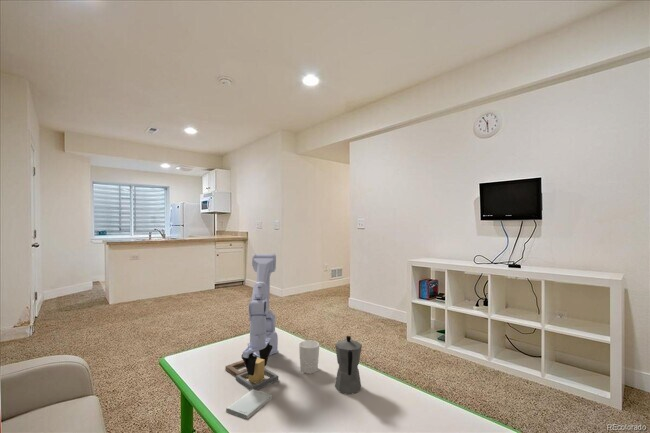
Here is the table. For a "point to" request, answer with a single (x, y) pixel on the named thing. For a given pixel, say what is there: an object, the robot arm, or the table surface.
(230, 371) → the socket block
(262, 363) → the peg
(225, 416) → the table surface
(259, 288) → the robot arm
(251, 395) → the hard drive
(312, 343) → the white cup
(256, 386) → the gray square frame
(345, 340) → the coffeepot
